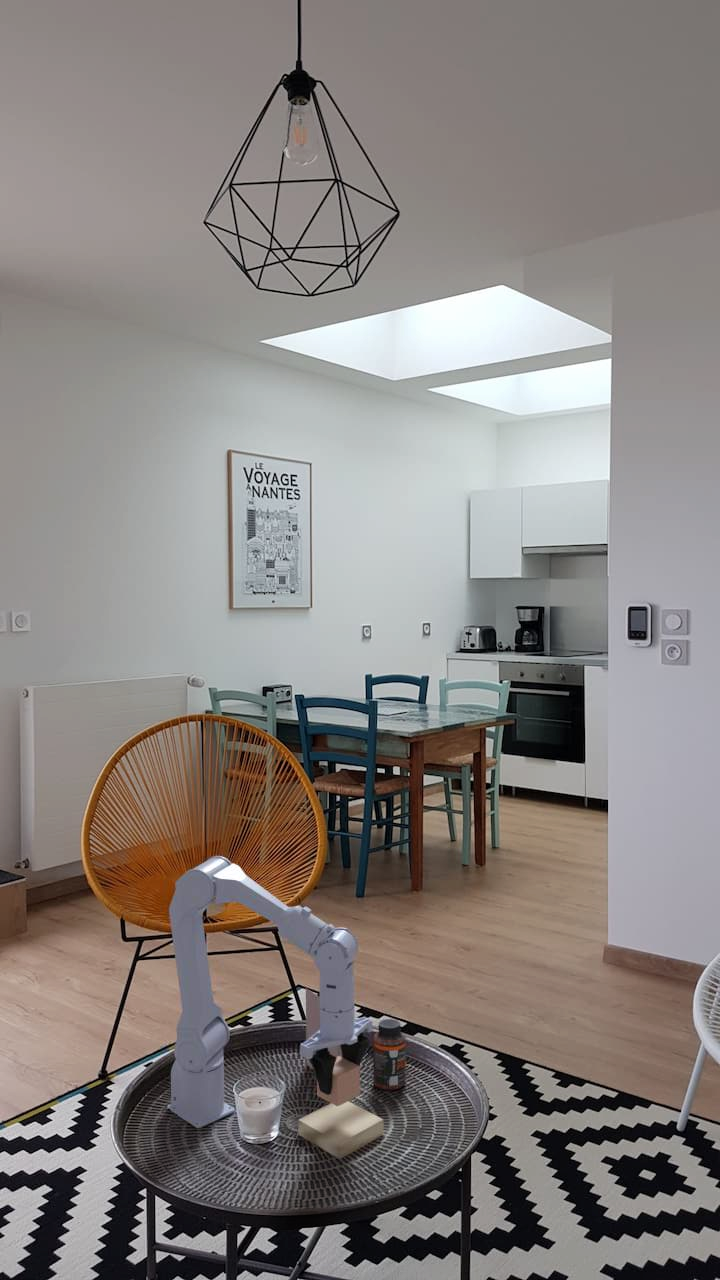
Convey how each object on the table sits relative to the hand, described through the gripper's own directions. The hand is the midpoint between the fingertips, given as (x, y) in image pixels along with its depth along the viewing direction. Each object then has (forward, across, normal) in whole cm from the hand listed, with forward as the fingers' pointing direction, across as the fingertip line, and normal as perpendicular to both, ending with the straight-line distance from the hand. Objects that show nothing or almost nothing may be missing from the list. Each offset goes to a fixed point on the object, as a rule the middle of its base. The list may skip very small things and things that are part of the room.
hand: (337, 1086), depth 166 cm
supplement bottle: (+9, +19, +6) cm, 21 cm away
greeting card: (+9, +12, +17) cm, 23 cm away
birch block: (+9, +1, 0) cm, 9 cm away
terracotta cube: (+2, 0, 0) cm, 2 cm away
